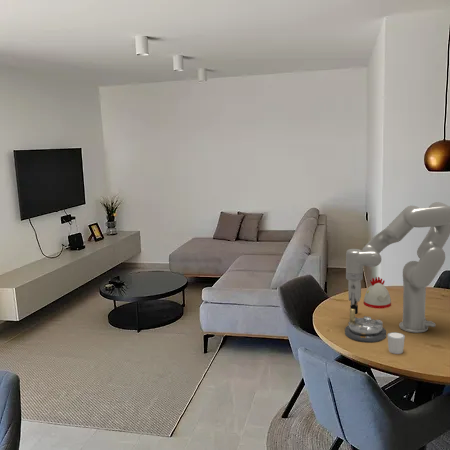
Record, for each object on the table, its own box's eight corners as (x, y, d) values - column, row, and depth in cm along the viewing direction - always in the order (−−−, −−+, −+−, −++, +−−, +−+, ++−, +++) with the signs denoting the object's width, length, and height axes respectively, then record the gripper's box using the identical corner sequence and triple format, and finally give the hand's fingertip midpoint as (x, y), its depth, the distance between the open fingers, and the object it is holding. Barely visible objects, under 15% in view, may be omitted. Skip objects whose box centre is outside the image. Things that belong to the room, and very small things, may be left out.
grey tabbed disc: (383, 325, 224) (384, 306, 222) (380, 337, 210) (381, 317, 209) (351, 321, 229) (351, 303, 228) (346, 333, 216) (346, 314, 214)
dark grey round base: (387, 329, 225) (387, 324, 225) (384, 344, 209) (384, 339, 208) (348, 324, 232) (348, 320, 232) (342, 339, 216) (342, 334, 215)
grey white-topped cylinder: (390, 346, 207) (391, 330, 206) (406, 350, 203) (407, 334, 201) (384, 352, 202) (384, 336, 201) (401, 356, 197) (401, 339, 196)
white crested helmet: (359, 301, 264) (359, 274, 262) (382, 298, 267) (382, 272, 264) (371, 309, 251) (372, 281, 248) (396, 306, 253) (396, 279, 251)
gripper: (361, 280, 216) (360, 319, 219) (364, 271, 230) (363, 308, 233) (344, 279, 218) (343, 318, 222) (347, 270, 232) (347, 307, 235)
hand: (354, 313), depth 227 cm, fingers closed
